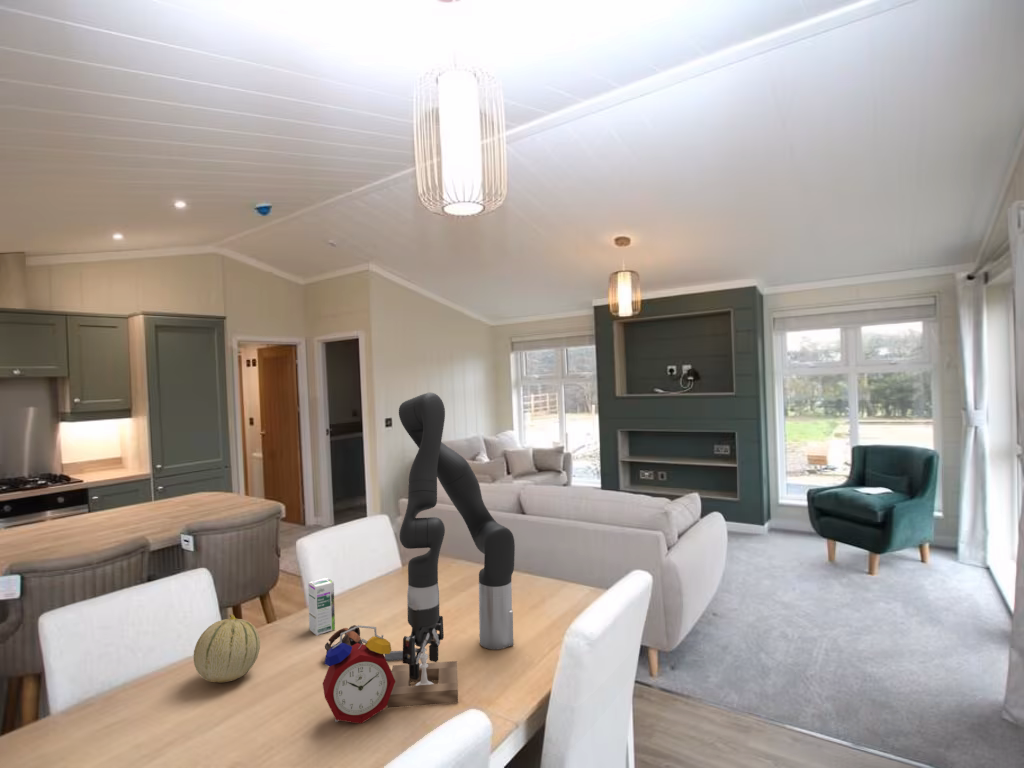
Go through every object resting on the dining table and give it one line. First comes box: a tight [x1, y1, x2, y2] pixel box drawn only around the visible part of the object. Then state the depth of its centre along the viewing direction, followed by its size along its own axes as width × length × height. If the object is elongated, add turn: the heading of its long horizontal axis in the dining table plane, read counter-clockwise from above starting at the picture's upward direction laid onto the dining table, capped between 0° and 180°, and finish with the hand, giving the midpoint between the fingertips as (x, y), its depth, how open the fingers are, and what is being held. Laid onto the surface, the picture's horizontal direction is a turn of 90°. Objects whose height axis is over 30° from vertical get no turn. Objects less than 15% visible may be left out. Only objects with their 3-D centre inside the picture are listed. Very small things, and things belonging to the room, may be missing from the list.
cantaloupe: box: [193, 613, 261, 684], centre depth 136 cm, size 15×15×15 cm
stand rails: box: [384, 650, 417, 672], centre depth 140 cm, size 8×11×2 cm
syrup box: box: [307, 577, 336, 636], centre depth 163 cm, size 6×6×14 cm
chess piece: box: [414, 648, 434, 686], centre depth 130 cm, size 5×5×10 cm
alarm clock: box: [322, 624, 395, 724], centre depth 121 cm, size 15×9×20 cm, turn 114°
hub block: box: [386, 660, 459, 709], centre depth 130 cm, size 16×13×3 cm
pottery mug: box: [324, 624, 363, 654], centre depth 148 cm, size 12×10×8 cm
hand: (424, 669), depth 130 cm, fingers open, 8 cm apart
